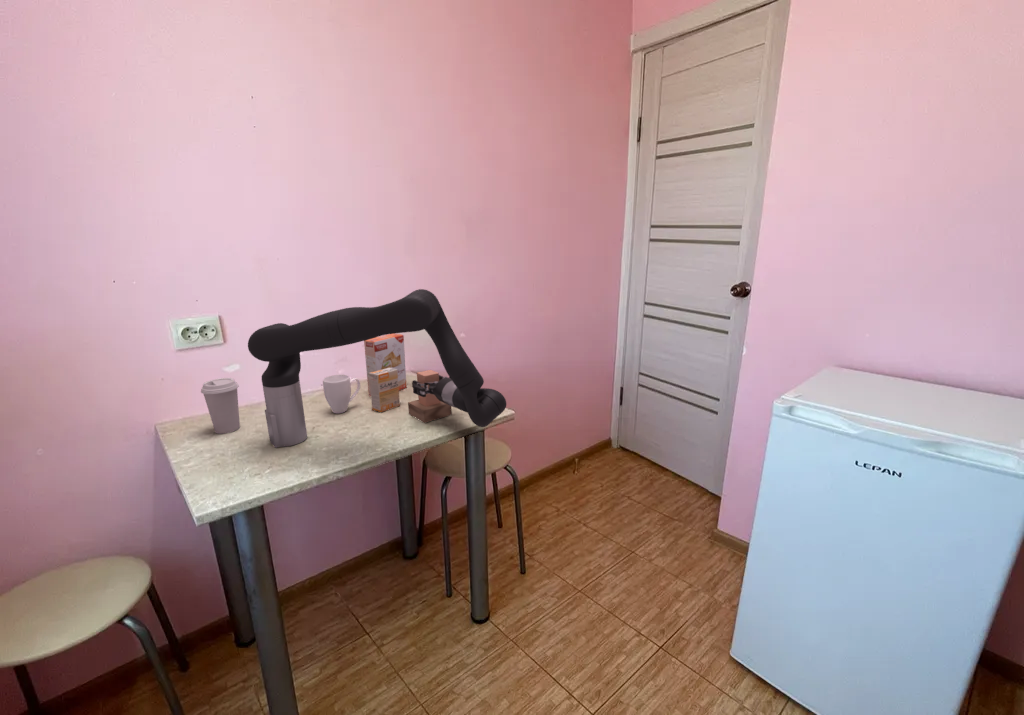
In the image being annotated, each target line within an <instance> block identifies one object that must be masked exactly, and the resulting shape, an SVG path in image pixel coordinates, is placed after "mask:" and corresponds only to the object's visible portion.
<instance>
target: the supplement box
mask: <svg viewBox="0 0 1024 715" xmlns="http://www.w3.org/2000/svg"><path fill="white" fill-rule="evenodd" d="M369 378H370V389H371V396H370V398H371V409H372V411H374V410H375V412H377V411H378V413H380V412H381V413H383V412H386V411H388V409H389V410H391V409H394V408H397V407H399V406H401V404H400V403H401V402H400V390H399V386H398V372H397V369H394V368H386V369H382V370H378V371H374V372H370V373H369Z"/></svg>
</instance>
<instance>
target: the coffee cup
mask: <svg viewBox="0 0 1024 715" xmlns="http://www.w3.org/2000/svg"><path fill="white" fill-rule="evenodd" d="M239 387H240V386H239V384H238V382H236V380H235V379H234V378H231V377H224V378H223V377H221V378H215V379H211V380H208V381H206V382H204V383H203V384H202V387H201V388H200V393H201V394H203V396H204V397H203V398H204V401H205V403H206V407H207V409H208V413H209V416H210V420H211V423H212V426H213V430H214V433H215V434H218V435H219V434H220V435H221V434H229V433H232V432H235V431H237V430H239V429H240V427H241V424H240V423H241V422H240V411H239V410H240V409H239V396H238V394H239V393H238V388H239Z"/></svg>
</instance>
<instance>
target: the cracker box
mask: <svg viewBox="0 0 1024 715" xmlns="http://www.w3.org/2000/svg"><path fill="white" fill-rule="evenodd" d="M404 338H405V335H404V334H401V333H395V334H387V335H382V336H379V337H375V338H372V339H369V340H365V341H363V343H364V344H363V345H364V355H365V356H364V358H365V366H366V369H365V370H366V378H367V379H366V380H367V389H368V390H367V391H368V396H369V397H371V389H370V378H369V373H370V372H374V371H378V370H382V369H386V368H394V369H397V372H398V386H399V391H401V389H402V390H404V388H405V389H406V388H408V387H407V385H408V384H407V373H406V369H407V368H406V356H405V353H406V352H405V340H404Z"/></svg>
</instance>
